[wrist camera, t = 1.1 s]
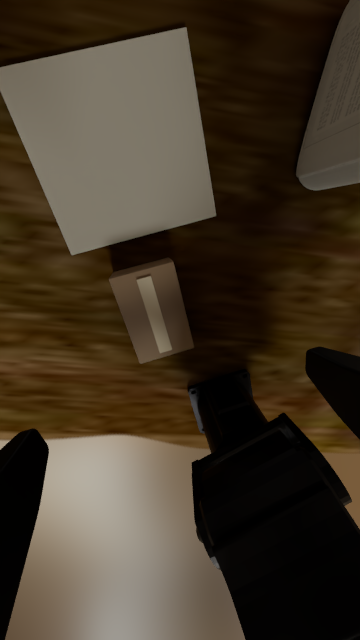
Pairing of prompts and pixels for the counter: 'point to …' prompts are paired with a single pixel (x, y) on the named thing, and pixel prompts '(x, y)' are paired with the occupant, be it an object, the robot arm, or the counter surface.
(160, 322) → the ridged brown block
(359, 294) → the counter surface
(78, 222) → the mat
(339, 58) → the photo printer
